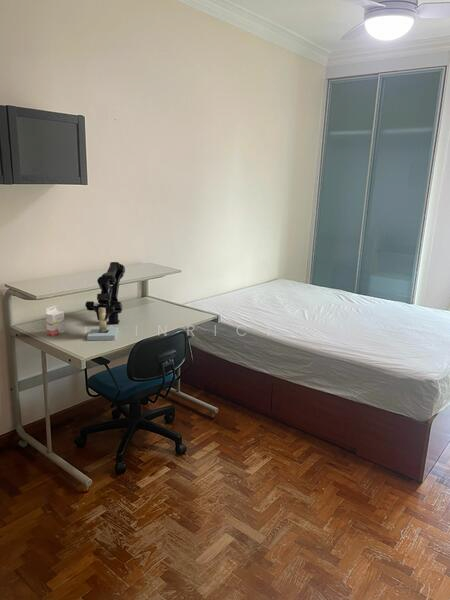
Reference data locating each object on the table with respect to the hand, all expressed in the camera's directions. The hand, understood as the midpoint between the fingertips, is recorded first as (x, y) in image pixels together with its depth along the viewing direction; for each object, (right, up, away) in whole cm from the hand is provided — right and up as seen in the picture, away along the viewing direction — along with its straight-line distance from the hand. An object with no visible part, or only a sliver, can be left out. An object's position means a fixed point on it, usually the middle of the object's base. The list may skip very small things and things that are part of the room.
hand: (101, 320), depth 234 cm
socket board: (0, -9, +4) cm, 9 cm away
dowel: (0, -6, +3) cm, 7 cm away
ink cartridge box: (-27, -8, +7) cm, 29 cm away
